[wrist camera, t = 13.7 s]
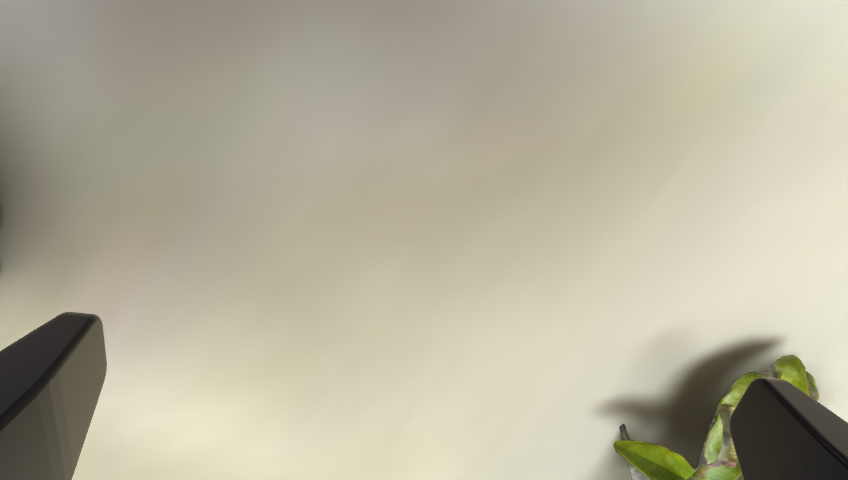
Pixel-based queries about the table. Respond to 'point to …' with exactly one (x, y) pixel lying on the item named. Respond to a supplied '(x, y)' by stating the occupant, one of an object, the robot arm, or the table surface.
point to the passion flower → (710, 434)
